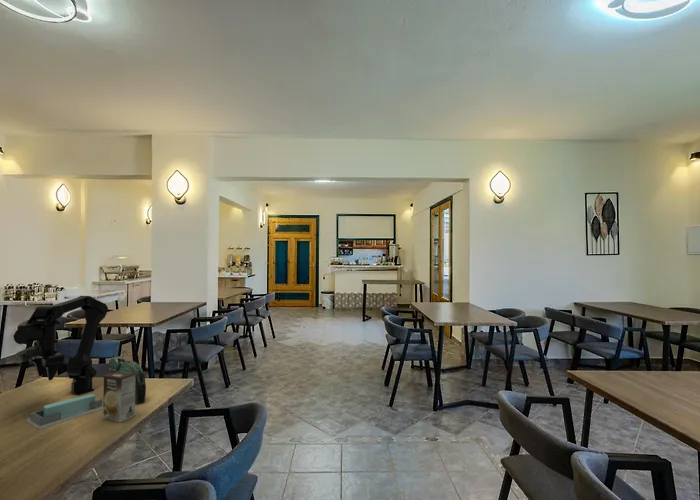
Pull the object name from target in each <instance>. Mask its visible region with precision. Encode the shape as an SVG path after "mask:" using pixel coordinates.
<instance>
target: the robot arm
mask: <svg viewBox="0 0 700 500" xmlns="http://www.w3.org/2000/svg"><path fill="white" fill-rule="evenodd" d="M77 309H81V310H82V311H84V313H83V317H84V319H85V325H84V328H83V332H82V335H81V338H80V342H79V345H78V348H77V351H76V354H75V355H74V356H73V357H69V359H68V362H67V365H66V366H65V368H66V373H67V375H68V378H69V380H72V382H71V386H70V389H71V390H70V393H72V394H74V395H77V396H78V395H83V394H86V393H89V392H92V391H94V390H95V388H93V378H95V377H96V375H97V372H98V371H97V370H96V369H95V368H94V367H93V359H92V356H91V353H92V350H93V346H94V342H95V339H96V337H97V332H98V328H99V326H100V323H101V322H102V321H103V320H104V319H105V318H106V315H107V313H108V310H109V307H108V305H107V304H106V303H104V302H102V301H100V300H98V299H96V298H93V296H91V295H80V296H78V297H75V298H72V299H68V300H66V301H63V302H60V303H57V304H48V305H46V304H45V305H41V306H37V307H36V308H35V310H34V312H32V314H31V316H30V318H29V319H28V320H27V322H26V323H25V324H20V325H19V326H18V327H19V328H18V329H17V330H15V332H14V334H13V341H14V342H15V343H16V344H18V345H23V344H28V343H33V344H32V345H31V346H29V347H27V348H24V349H22V350H20V351H17V352H16V353H15V356H16V358H17V359H18V361H19V362H22V363H26V362H27V361H30V362H32V363H33V364H34V366H35V368H36V372H37V375H38V377H42V376H43V375H44V373H45V370H46V375H47V379H48V381H52V380H54V377H55V375H56V374H57V372H58V370H59V369H60V367H61V365H62V364H64V362H65V361H66V355H65V354H63V353H60V352H58V350H57V349H56V344H57V343H58V339H57V336H56V335H57V333H56V332H57V326H60V325H61V324H62V322H61V321H60V320H58V319H60V318H62V317H63V316H64V315H65V314H66V313H69V312H71V311H75V310H77Z"/></svg>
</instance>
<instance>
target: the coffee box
mask: <svg viewBox="0 0 700 500" xmlns="http://www.w3.org/2000/svg"><path fill="white" fill-rule="evenodd" d="M135 382H136V373H130V372H125V371H120V370H119V371H116V372H113V373H112V372H110V373H107V374H105V375H103V395H102V396H103V397H102V398H103V399H102V400H103V409H102V419H103V420H105V421H106V420H107V421H111V422H115V423H119V424H120V423H122V422H125V421H127V420H129V419H131V418H132V417H135V415H136V414H135V413H136V412H135V411H136V404H135Z"/></svg>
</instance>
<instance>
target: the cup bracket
mask: <svg viewBox="0 0 700 500" xmlns="http://www.w3.org/2000/svg"><path fill="white" fill-rule="evenodd" d="M43 410H44V408H43V409H39V410H36V411H33V412H30V414H29V418H27V419H26V422H27V423H28V424H30V425H31V426H32V427H35V428H36V429H37V430H43V429H47V428H49V427H52V426H55V425H58V424H60V423H65V422H67V421H70V420H72V419H77V418H79V417H82V416H85V415H88V414H91V413H94V412H98V411H99V410H103V399H102V398H100V399H98V398H96V397H95V401H94V402H91V403H90V408H86V409H83V410H79V411H75V412H72V413H68V414H65V415H61V412H58V413H55V414H52V415H48V416H45V417H43Z"/></svg>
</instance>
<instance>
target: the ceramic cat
mask: <svg viewBox="0 0 700 500" xmlns="http://www.w3.org/2000/svg"><path fill="white" fill-rule="evenodd" d="M124 353H125V354H126V355H127V356H128V352H127V350H124V351H123V352H122V354H124ZM119 370H120V371H125V372H130V373H136V382H135V405H141V404H143V403H145V401H146V391H147V385H146V378H145V377H146V376H145V372H144V371H143V368H142V367H141V365H140V364H139V363H137V362H136V361H135V360H128V359H127V357H126V356H124V355H120V356H116V354H114V353H113V354H112V357H111V358H110V360H109V361H108V371H109V372H110V373H113V372H116V371H119Z"/></svg>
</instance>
